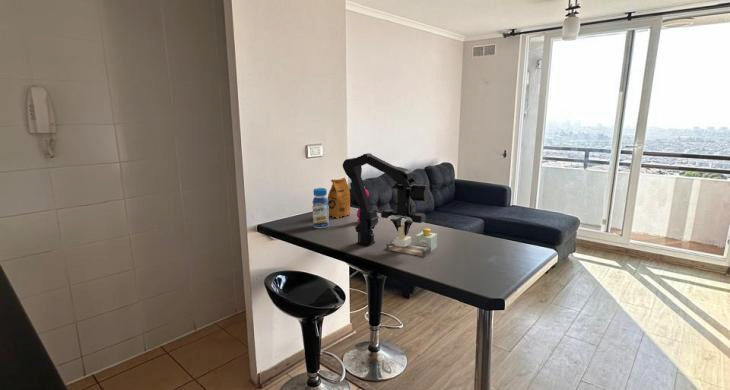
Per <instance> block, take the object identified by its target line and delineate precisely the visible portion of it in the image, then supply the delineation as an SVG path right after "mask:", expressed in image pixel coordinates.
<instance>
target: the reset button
mask: <svg viewBox="0 0 730 390" xmlns="http://www.w3.org/2000/svg"><path fill="white" fill-rule="evenodd" d="M422 231H423V236H430V233H431V231H432V230H431V228H422Z"/></svg>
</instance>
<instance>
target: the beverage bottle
mask: <svg viewBox="0 0 730 390" xmlns="http://www.w3.org/2000/svg"><path fill="white" fill-rule="evenodd" d="M327 194H328V193H327V188H323V187H318V188H317V187H316V188H313V196H314V197H313V200H312V222H313V223H312V224H313V225H312V226H313V228H315V229H326V228H328V227H330V222H329V221H330V219H329V218H330V217H329V210H328V209H329V206H328V197H327V196H328V195H327Z"/></svg>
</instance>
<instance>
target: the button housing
mask: <svg viewBox="0 0 730 390" xmlns="http://www.w3.org/2000/svg"><path fill="white" fill-rule="evenodd" d="M415 246H419V247H425V248H427V247H428V246H429V247H431V252H432V251H433V250H435V249H436V248H438V233H434V232H430V236H423V230H421V232H419V233H418V234H416V235H415Z"/></svg>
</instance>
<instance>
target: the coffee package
mask: <svg viewBox="0 0 730 390" xmlns="http://www.w3.org/2000/svg"><path fill="white" fill-rule="evenodd" d="M330 182H331V183H332V184H331V187H330V189H329V192H328V193H327V194H328V195H327V199H328V206H329V209H328V210H329V216H332V217H337V218H336V219H339V218H338V217H341V218H343V217H342V216H346V217H348V216H350V215H351V197H350V196H351V192H350V187H349V185H348V181H347V179H346V177H342V178H340V179H331V180H330ZM349 214H350V215H349ZM347 215H348V216H347ZM332 217H331V218H332Z"/></svg>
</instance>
